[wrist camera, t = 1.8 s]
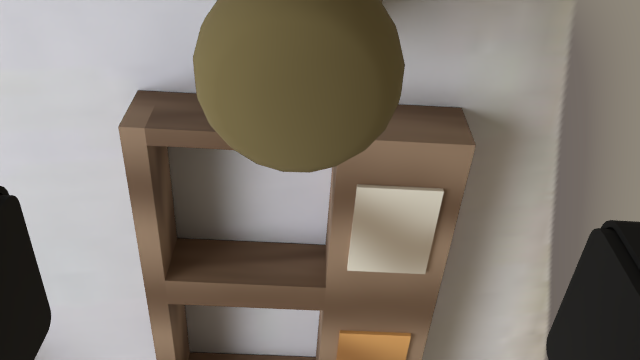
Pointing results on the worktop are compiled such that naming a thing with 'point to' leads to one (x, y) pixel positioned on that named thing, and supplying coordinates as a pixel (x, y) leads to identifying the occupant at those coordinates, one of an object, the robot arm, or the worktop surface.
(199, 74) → the olive piece
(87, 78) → the worktop surface
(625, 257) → the robot arm
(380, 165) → the socket block
